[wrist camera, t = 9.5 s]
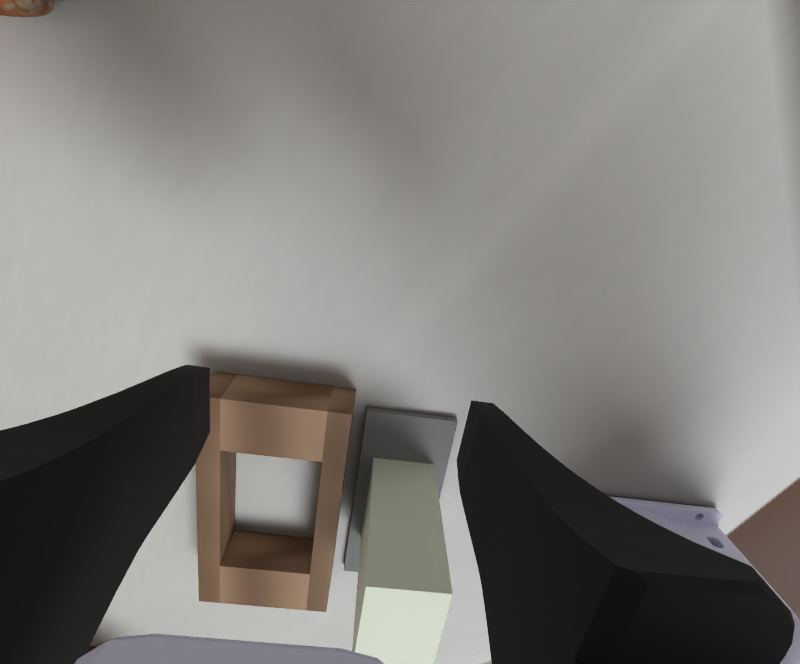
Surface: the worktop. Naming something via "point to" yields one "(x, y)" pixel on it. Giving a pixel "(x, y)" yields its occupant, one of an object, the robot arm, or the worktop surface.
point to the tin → (25, 7)
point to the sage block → (402, 566)
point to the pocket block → (280, 437)
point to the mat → (396, 457)
